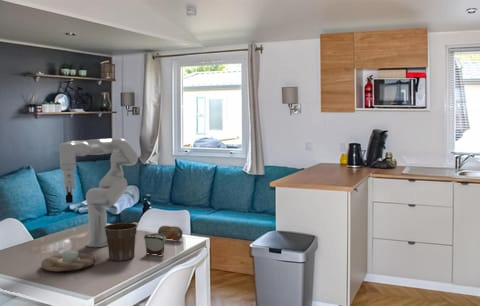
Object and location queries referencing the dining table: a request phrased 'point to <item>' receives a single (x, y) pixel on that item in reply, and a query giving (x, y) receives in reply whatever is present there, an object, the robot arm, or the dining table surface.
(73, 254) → the sage green rounded cylinder
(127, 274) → the dining table surface
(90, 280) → the dining table surface
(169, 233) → the tin
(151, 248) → the food container
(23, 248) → the dining table surface
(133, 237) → the plant pot
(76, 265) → the disc
